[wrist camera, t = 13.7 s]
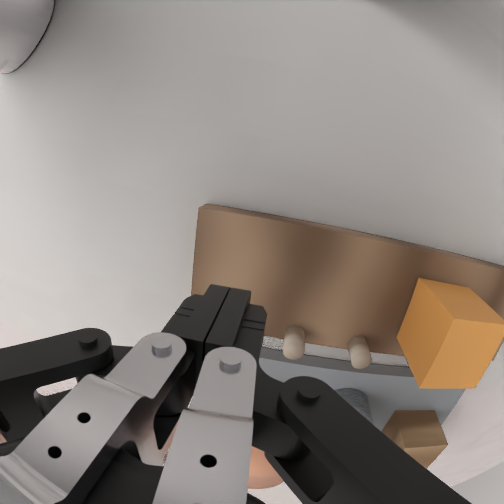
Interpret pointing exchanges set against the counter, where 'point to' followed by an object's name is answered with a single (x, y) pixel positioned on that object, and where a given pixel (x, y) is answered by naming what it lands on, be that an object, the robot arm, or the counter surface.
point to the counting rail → (328, 278)
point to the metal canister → (357, 401)
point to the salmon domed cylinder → (261, 471)
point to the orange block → (449, 335)
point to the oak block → (417, 434)
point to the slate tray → (365, 383)
